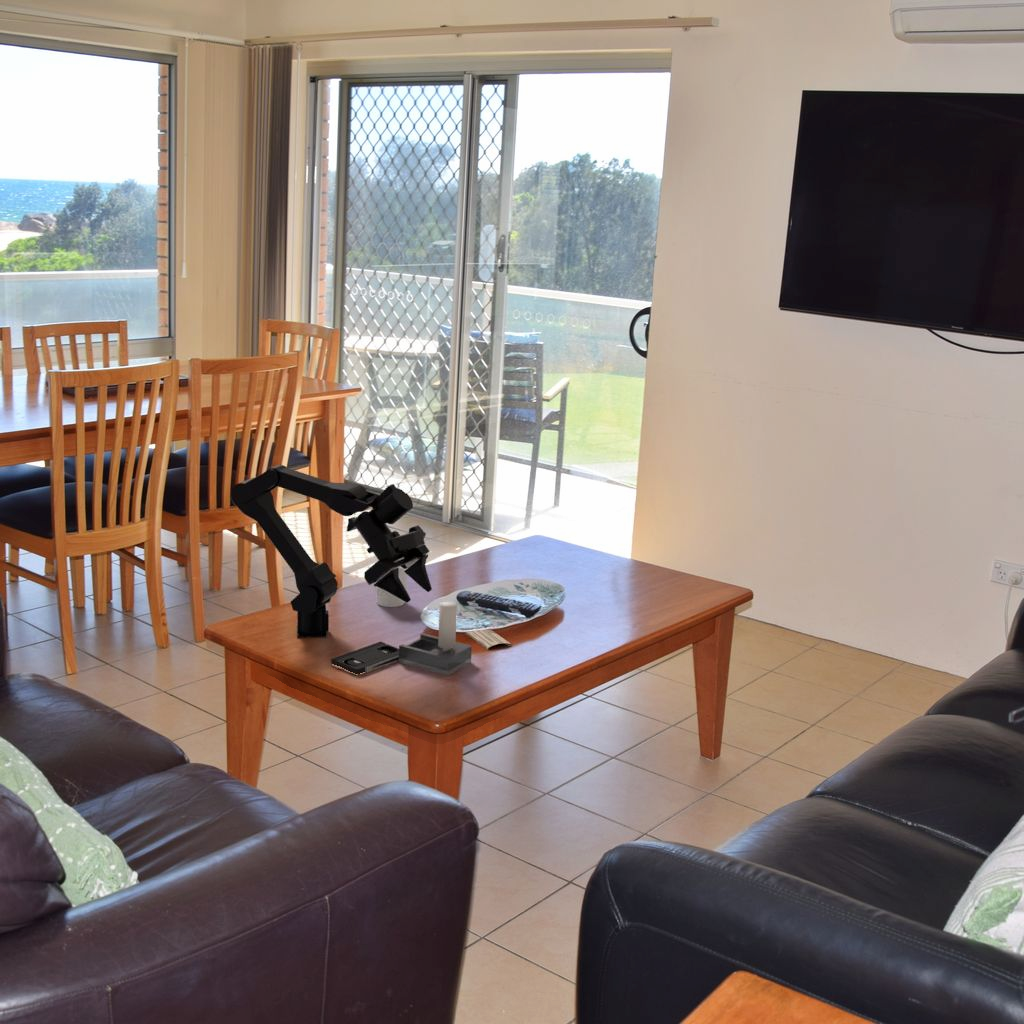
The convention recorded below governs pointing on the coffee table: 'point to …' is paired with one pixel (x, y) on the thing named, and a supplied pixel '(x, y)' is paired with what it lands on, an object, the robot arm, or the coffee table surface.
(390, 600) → the white cup
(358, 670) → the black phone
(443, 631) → the post
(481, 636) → the newspaper
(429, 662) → the keyhole plate
